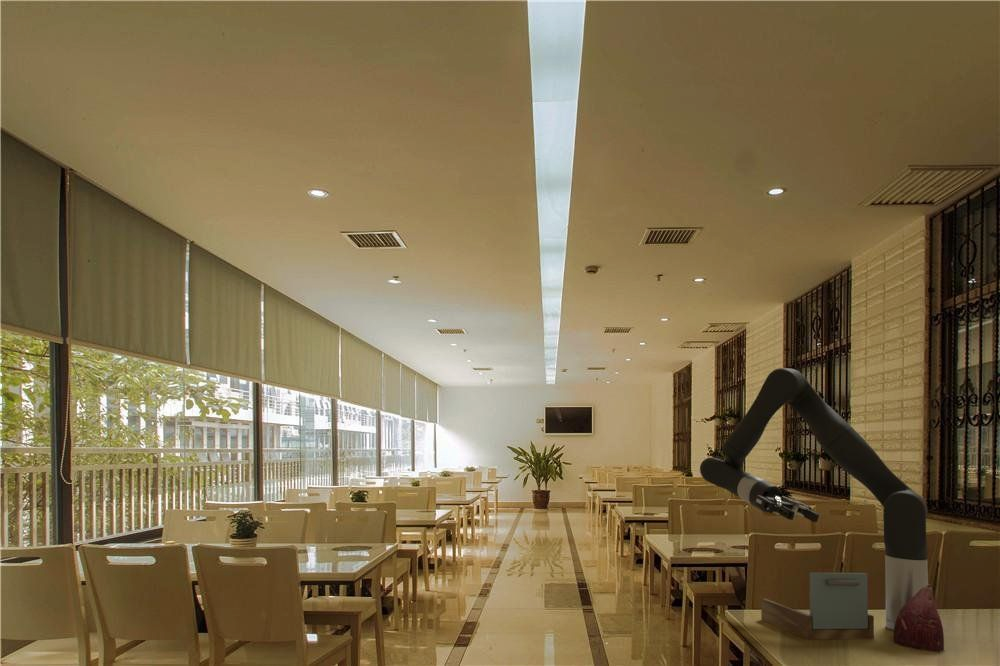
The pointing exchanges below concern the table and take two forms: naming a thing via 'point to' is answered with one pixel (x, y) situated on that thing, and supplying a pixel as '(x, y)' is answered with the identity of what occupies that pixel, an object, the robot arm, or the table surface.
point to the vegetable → (920, 623)
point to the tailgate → (839, 600)
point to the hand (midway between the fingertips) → (805, 517)
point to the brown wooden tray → (808, 623)
